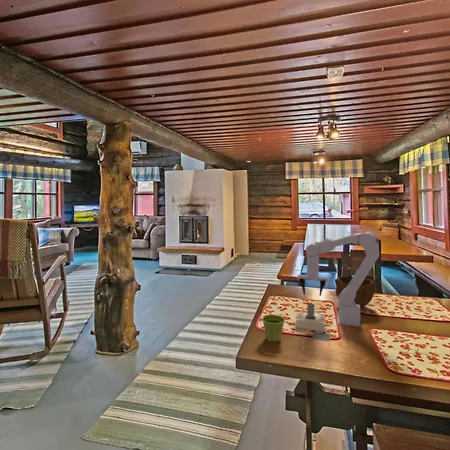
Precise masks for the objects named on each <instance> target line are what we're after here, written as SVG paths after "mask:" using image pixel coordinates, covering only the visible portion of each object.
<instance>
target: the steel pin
mask: <svg viewBox="0 0 450 450" xmlns="http://www.w3.org/2000/svg"><path fill="white" fill-rule="evenodd" d="M306 307H307V308H306V309H307V310H306V311H307V312H306V313H307V319H314V314H315V303H310V302H309V303H307V304H306Z"/></svg>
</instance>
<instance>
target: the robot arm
mask: <svg viewBox="0 0 450 450" xmlns="http://www.w3.org/2000/svg"><path fill="white" fill-rule="evenodd" d="M349 244H355V245H360V246H361V247H362V249H363V250H364V252H365V255H366V256H365V257H364V259H363V260H362V262H361V264H360V265H359V267H358V268H357V270H356V271H355V274H354V275H353V278H352V280H351V281H350V283H349V284H348V286H347V287H346V288H344V289H343V291H342V292H341V293H340V294H339V296H338V297H337V298H338V316H337V317H336V319H337V324H339V325H344V326H345V325H346V326H354V327H361V325H360V324H361V307H360V305H357V304H355V301H354V299H355V297H356V292H357V290H358V288H359V287H360V285H361V284H362V282H363V281H364V279H365V278H366V277H367V276H368V274H369V273H370V271H371V269H372V268H373V267H374V265H375V263H376V262H377V260H378V258H379V257H380V249H379V239H378V237H377V235H376V233H375V232H373V231H365V232H356V233H354V234H349V235H347V236H343V237H341V238H337V239H334V240H333V239H331V238H324V239H323V240H320V241H315V242H313V243H310V244H309V245H307V246H306V247H305V252H306V274H297V276H296V277H297V278H296V279H297V280H298V281H299V283H300V286H301V288H302V293H303V295H306V281H314V282H315V281H316V282H320V284H319V297H322V292H323V290H324V287H325V285H326V283H328V282H329V277H328V276H322V275H319V273H320V254H325V253H329V252H331V251H332V252H333V251H334V250H336V249H335V248H336V247H341V246H344V245H349Z"/></svg>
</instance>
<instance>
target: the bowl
mask: <svg viewBox="0 0 450 450" xmlns="http://www.w3.org/2000/svg"><path fill="white" fill-rule="evenodd" d="M353 276H354V275H353ZM353 276H351V275H342V276H338V277H337V278H336V287H335V295H336V296H337V298H338V296H339V294H340V293H341V292H342V291H343V289H344V288H346V287H347V286H348V284H349V283H350V281H351V280H352V278H353ZM374 285H375V283H374V281H373V280H372V279H369V278H366V277H365V279H364V281H363V282H362V284H361V285H360V287H359V288H358V290H357V292H356V297H355V299H354V301H355V304H357V305H360V308H364V307H365V306H368V305H369V304H370V303H371V301H372V300H373V298H374V295H375V292H374Z"/></svg>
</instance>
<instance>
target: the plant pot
mask: <svg viewBox="0 0 450 450" xmlns="http://www.w3.org/2000/svg"><path fill="white" fill-rule="evenodd" d="M261 320H262V322H263V325H264V326H263V327H264V333H265V339H266V341H268V342H271V343H275V342H276V343H277V342H280V341H281V340H282V334H283V327H284V324H285V322H286V318H285V317H283V316H282V315H279V314H266V315H263V316H262V318H261Z"/></svg>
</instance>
